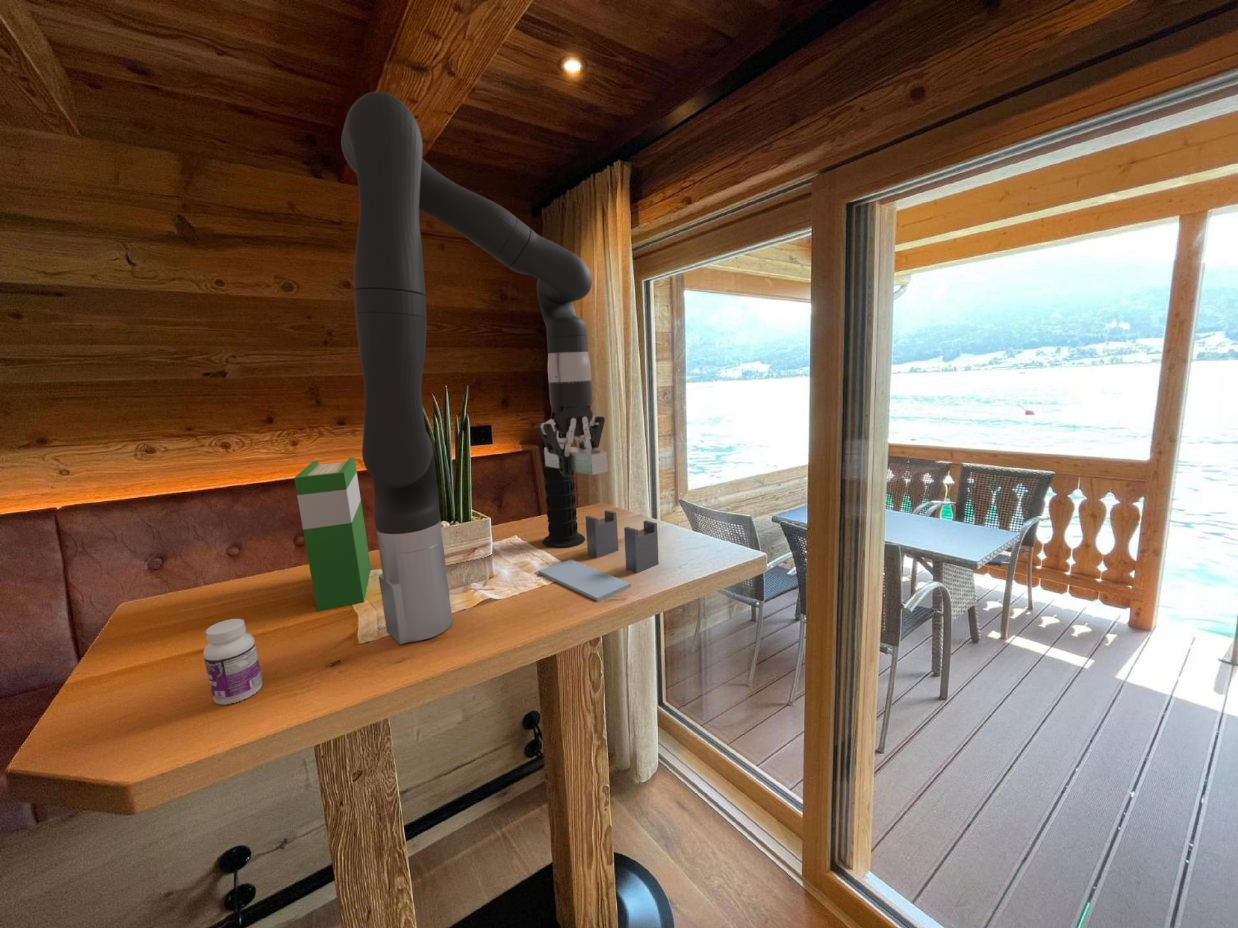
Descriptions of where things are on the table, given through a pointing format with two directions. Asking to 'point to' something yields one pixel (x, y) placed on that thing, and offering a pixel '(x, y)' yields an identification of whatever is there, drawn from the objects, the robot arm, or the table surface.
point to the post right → (641, 547)
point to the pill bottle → (231, 662)
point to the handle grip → (560, 508)
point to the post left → (602, 534)
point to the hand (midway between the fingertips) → (575, 474)
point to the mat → (585, 579)
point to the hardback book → (334, 533)
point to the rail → (581, 460)
